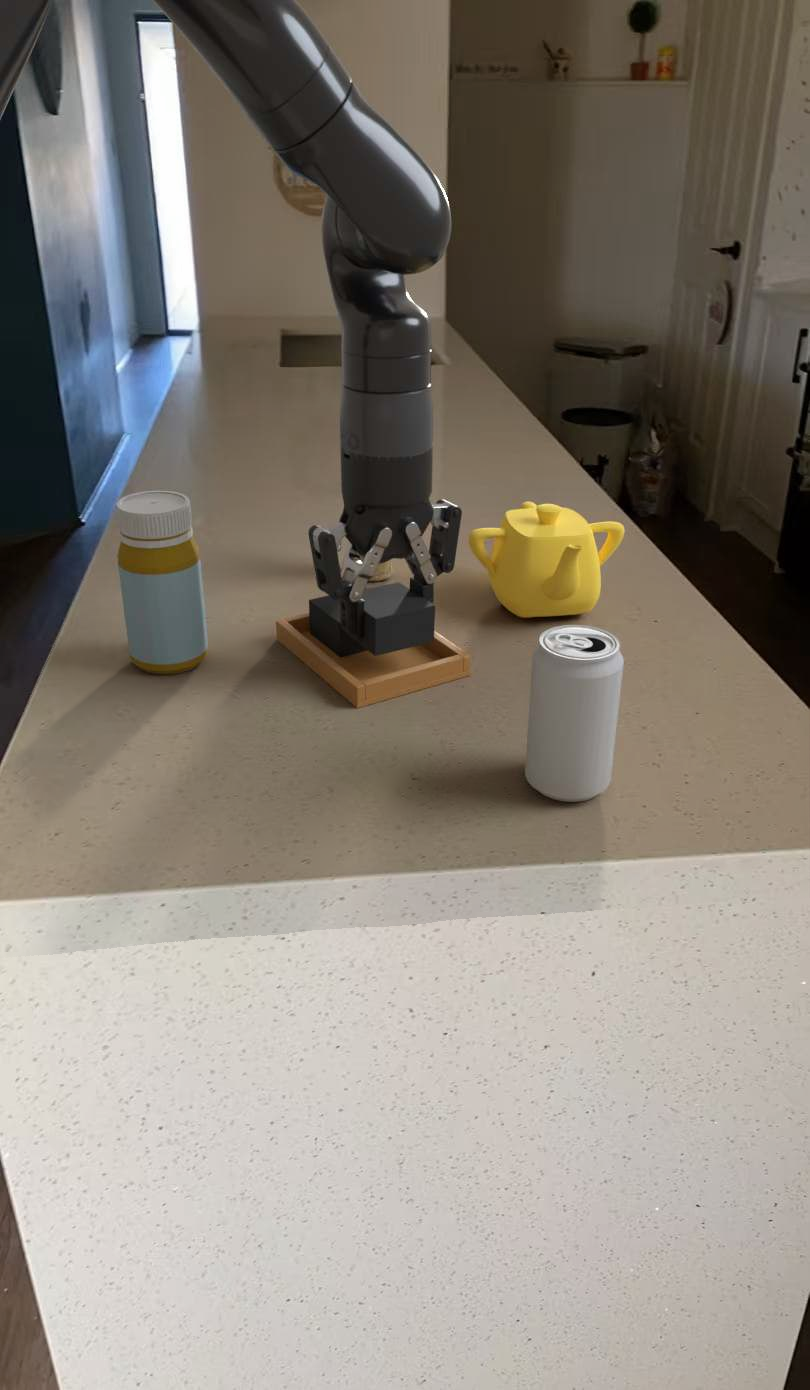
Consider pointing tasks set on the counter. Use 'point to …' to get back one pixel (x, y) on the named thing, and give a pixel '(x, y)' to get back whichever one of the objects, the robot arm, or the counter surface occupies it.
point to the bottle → (161, 582)
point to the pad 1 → (331, 627)
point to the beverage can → (573, 712)
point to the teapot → (545, 559)
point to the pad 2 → (395, 619)
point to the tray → (374, 664)
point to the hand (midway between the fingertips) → (387, 627)
